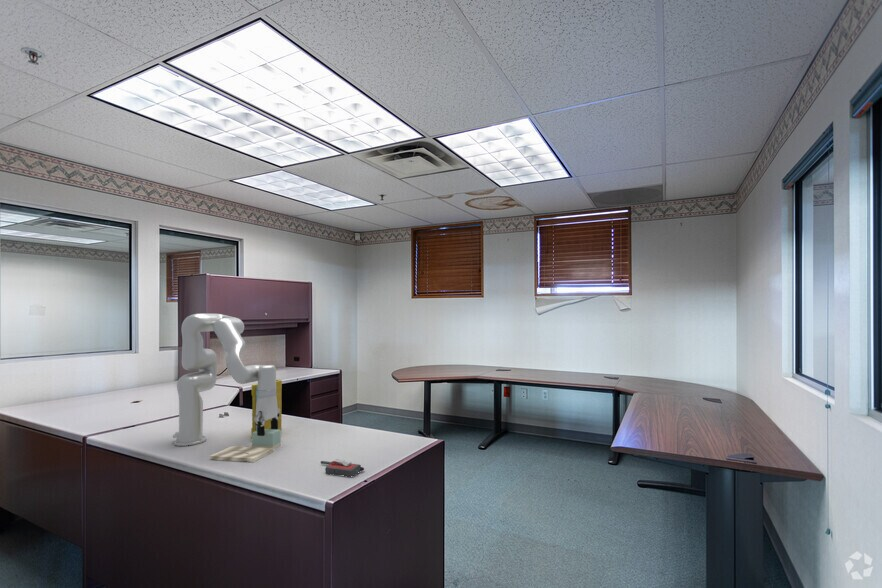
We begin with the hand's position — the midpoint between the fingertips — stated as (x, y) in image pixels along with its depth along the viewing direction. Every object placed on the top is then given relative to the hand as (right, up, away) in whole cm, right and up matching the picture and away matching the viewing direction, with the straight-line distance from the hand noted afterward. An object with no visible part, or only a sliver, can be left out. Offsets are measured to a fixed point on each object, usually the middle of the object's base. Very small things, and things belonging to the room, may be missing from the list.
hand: (267, 432), depth 183 cm
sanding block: (0, -6, 0) cm, 6 cm away
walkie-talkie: (+38, -5, -30) cm, 49 cm away
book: (-8, -8, +21) cm, 24 cm away
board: (-6, -6, -11) cm, 14 cm away
